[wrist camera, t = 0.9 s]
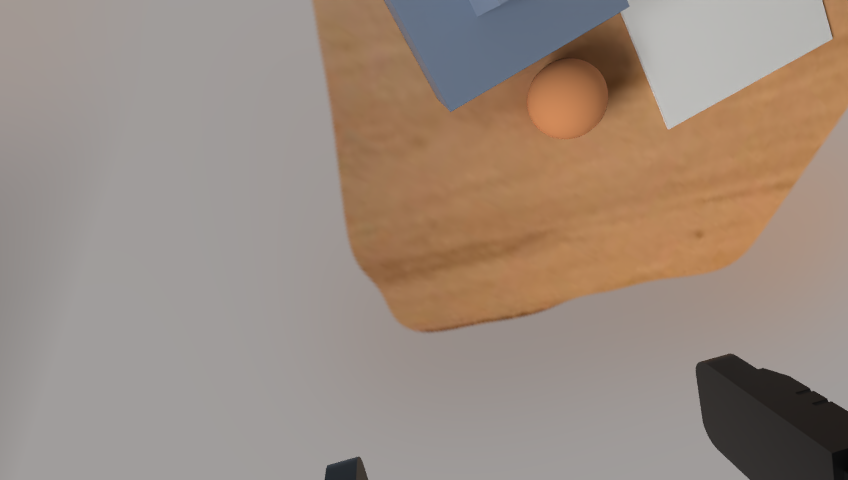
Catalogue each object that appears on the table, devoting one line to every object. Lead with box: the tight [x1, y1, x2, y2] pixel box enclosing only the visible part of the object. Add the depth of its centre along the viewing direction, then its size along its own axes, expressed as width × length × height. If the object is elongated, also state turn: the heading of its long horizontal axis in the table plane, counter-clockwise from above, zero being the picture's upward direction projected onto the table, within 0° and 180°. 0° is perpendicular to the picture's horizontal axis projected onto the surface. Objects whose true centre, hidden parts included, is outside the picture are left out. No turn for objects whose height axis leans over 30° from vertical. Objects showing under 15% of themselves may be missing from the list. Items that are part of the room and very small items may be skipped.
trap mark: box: [620, 0, 833, 129], centre depth 34 cm, size 12×12×1 cm
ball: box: [527, 58, 608, 139], centre depth 34 cm, size 5×5×5 cm
